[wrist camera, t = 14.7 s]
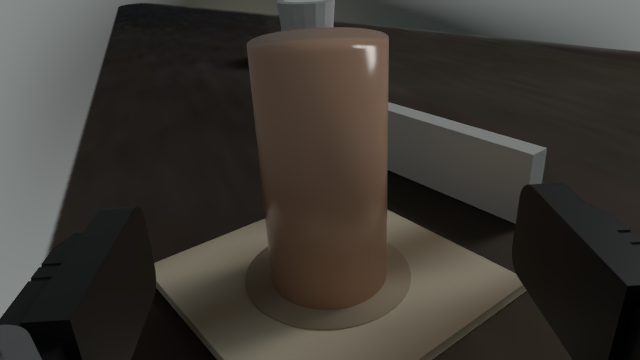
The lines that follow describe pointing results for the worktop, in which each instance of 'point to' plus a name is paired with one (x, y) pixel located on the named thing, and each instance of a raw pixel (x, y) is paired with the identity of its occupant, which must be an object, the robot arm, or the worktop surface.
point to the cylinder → (323, 161)
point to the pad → (339, 324)
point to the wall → (462, 160)
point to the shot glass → (305, 14)
